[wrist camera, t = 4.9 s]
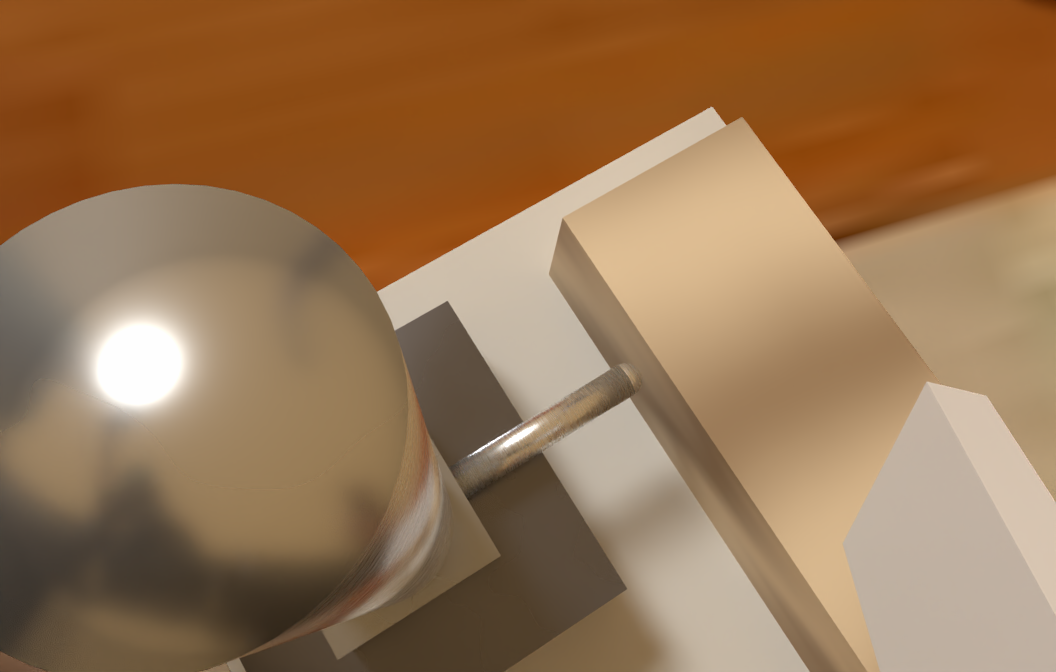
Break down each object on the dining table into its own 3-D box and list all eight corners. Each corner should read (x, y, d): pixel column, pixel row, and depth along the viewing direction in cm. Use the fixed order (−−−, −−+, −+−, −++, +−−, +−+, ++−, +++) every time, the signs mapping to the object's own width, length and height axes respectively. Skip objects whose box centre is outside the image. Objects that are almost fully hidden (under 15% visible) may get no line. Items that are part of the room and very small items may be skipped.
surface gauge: (182, 484, 17) (-701, 207, 4) (538, 280, 18) (677, -370, 6) (332, 772, 15) (-268, 1596, 3) (699, 527, 17) (1325, 393, 5)
